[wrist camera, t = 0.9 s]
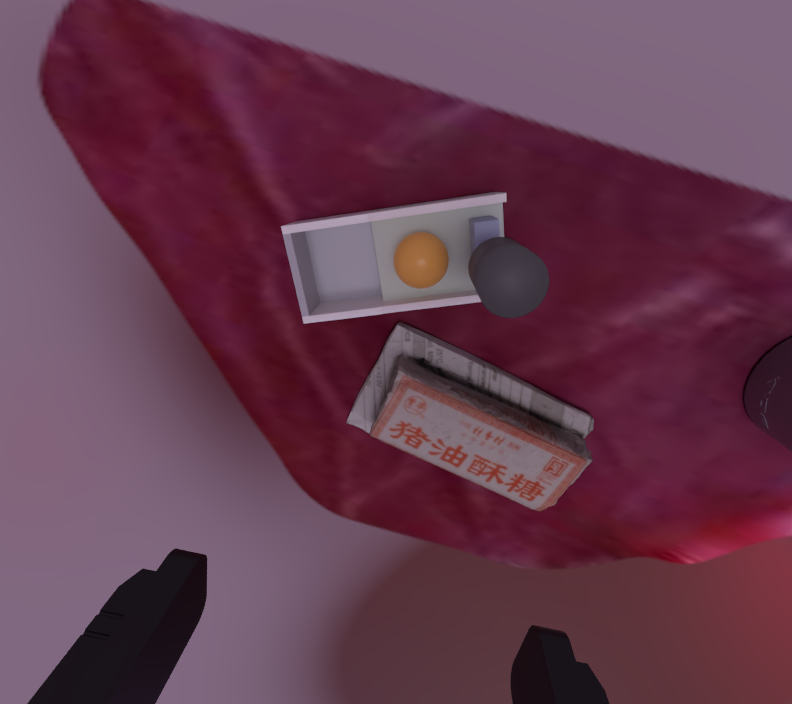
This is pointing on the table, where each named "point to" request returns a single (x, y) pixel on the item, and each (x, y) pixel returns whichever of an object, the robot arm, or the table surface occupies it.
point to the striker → (504, 271)
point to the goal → (334, 267)
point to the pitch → (450, 228)
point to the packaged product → (472, 419)
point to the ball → (421, 260)
